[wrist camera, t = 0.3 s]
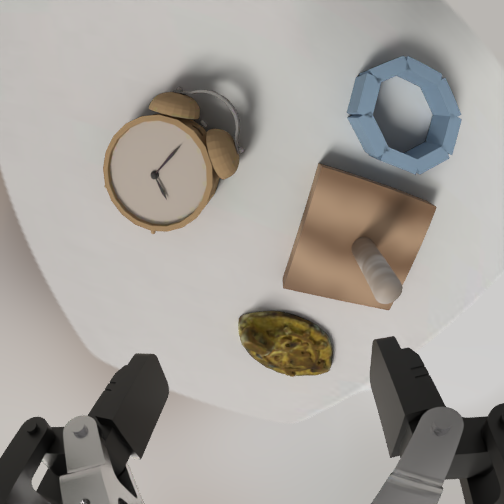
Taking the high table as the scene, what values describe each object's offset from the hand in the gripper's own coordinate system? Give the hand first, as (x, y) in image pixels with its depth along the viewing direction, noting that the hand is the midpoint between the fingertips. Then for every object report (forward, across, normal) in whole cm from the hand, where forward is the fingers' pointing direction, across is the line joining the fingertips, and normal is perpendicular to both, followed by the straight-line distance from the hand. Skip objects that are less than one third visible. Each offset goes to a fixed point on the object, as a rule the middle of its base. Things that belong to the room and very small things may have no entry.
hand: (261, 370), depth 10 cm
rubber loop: (+20, -14, -10) cm, 27 cm away
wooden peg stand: (+22, -8, +3) cm, 24 cm away
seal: (+24, 0, +16) cm, 29 cm away
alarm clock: (+21, +8, -8) cm, 24 cm away
